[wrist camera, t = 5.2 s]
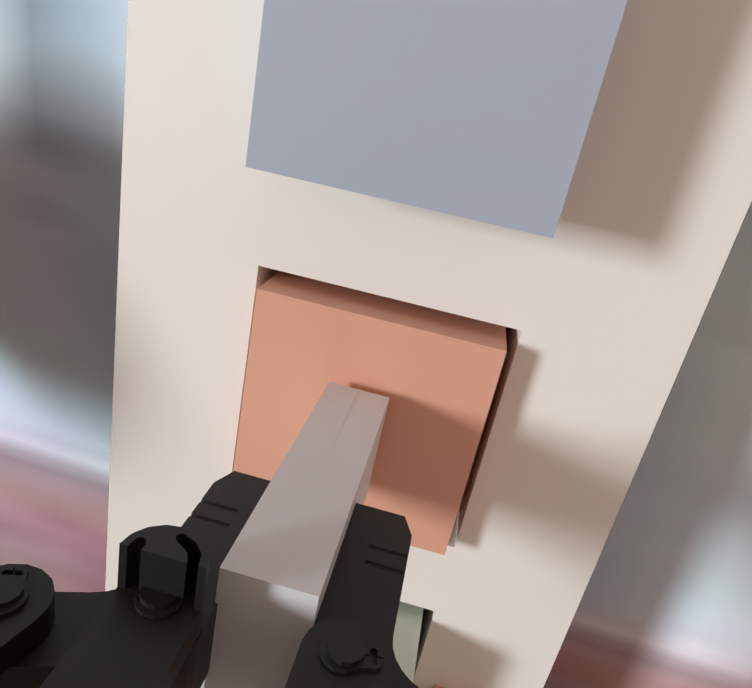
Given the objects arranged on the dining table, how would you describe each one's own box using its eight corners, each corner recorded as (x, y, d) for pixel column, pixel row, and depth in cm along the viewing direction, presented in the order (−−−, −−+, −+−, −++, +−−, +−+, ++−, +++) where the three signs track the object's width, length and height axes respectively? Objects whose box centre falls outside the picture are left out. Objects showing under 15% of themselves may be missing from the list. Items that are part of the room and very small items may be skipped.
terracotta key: (454, 465, 21) (444, 555, 17) (281, 418, 21) (230, 494, 17) (504, 295, 18) (507, 351, 14) (308, 248, 19) (257, 289, 15)
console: (487, 714, 25) (486, 840, 21) (156, 613, 26) (91, 712, 22) (807, -110, 14) (940, -202, 10) (224, -213, 15) (123, -333, 11)
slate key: (537, 203, 16) (552, 238, 12) (308, 150, 16) (245, 166, 12) (620, -74, 13) (675, -155, 9) (350, -124, 14) (289, -222, 10)
